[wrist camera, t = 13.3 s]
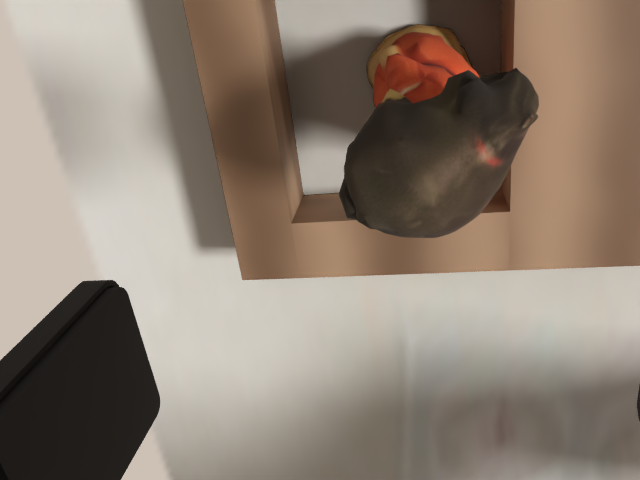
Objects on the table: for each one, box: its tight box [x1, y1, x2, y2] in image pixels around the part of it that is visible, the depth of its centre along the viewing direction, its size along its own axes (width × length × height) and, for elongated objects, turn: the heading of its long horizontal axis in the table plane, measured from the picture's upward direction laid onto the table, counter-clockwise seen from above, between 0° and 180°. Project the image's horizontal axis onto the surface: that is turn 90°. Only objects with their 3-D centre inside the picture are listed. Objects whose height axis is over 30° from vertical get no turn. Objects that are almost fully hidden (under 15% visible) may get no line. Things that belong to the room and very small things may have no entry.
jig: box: [183, 0, 640, 280], centre depth 25 cm, size 23×16×4 cm
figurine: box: [339, 24, 539, 238], centre depth 22 cm, size 6×6×12 cm
